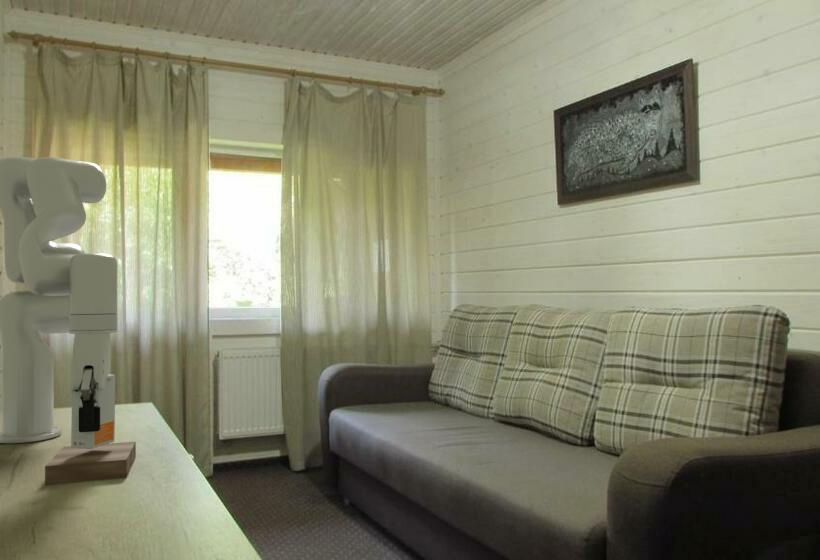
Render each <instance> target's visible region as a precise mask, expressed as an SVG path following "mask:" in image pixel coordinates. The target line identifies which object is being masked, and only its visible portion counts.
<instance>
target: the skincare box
mask: <svg viewBox="0 0 820 560" xmlns="http://www.w3.org/2000/svg"><path fill="white" fill-rule="evenodd" d="M93 377H94V374H93ZM96 384H97V383H96ZM80 386H81V384H80ZM80 386H79V387H80ZM91 389H96V386H95V385H94V379H92V384H91ZM77 390H78V391H77ZM76 391H77V392H73V391H72V390H71V434H70V435H71V438H70V439H71V440H70V441H71V442H70V443H71V444H70V446H71V448H80V449H93V448H95V447H98V446H102V445H105V444H108V443H115V436H116V435H115V429H116V427H115V426H116V425H115V424H116V422H115V420H116V374H111V373H110V374H109V375H108V378H107V383H106V387H105V388H104V389H103V390H101V391H99V403H98V407H100V430H99V431H95V432H79V402H80V391H81V388H79V389H76ZM93 395H94V397H95V394H93Z"/></svg>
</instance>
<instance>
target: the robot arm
mask: <svg viewBox="0 0 820 560" xmlns="http://www.w3.org/2000/svg"><path fill="white" fill-rule="evenodd" d="M105 176H106V175H105V173H104V171H103V169H101V167H100V166H99V165H97V164H96V163H93V162H90V161H84V160H83V161H82V160H76V159H68V158H63V157H62V158H61V157H51V156H45V157H38V158H34V157H33V158H32V157H26V156H25V157H23V156H8V157H3V158H1V159H0V213H1V216H2V219H3V220H2V221H3V226H4V227H3V235H4V237H3V240H4V243H3V246H4V266H5V267H4V269H5V273H6V277H7V279H8V280H9V281H10V282H12V283H14V284H18V285H19V284H20V285H25V286H26V288H27V289H28V290H16V291H12V292H9V293H6V294H5V295H3V296H2V297H1V298H0V337H1V349H2V350H1V356H2V357H1V358H2V359H1V360H2V361H1V363H2V365H1V366H2V367H1V368H2V384H1V385H2V386H1V387H2V388H1V389H2V391H1V393H2V394H1V395H2V396H1V397H2V399H1V400H2V401H1V406H2V409H1V412H2V414H1V415H2V416H1V421H2V422H1V424H2V425H1V431H0V444H21V443H31V442H33V443H34V442H39V441H44V440H49V439H53V438H56V437H58V436H61V434H62V433H63V431H62V427H60V426H54V425H55V424H54V420H55V419H54V416H55V415H54V414H55V413H54V408H55V407H54V404H55V403H54V402H55V401H54V400H55V399H54V394H55V393H54V392H55V391H54V390H55V388H54V386H55V385H54V383H55V382H54V381H55V380H54V379H55V377H54V375H55V371H54V369H55V368H54V367H55V364H54V361H55V360H54V353H53V350H52V349H51V347H50V346H49V345H48V343H46V341H45V340H43V339H42V337H41V336H42V335H48V334H49V335H52V334H71V335H74V338H73V344H72V346H73V348H72V361H71V363H72V364H71V379H70V382H71V383H70V390H71V392H72V391H73V392H77V391H78V390H77V391H76V389H79V388H81V391H80V402H79V432H95V431H99V430H100V407H98V403H99V391H101V390H103V389H104V388H105V387H106V383H107V378H108V375H109V374H111V366H112V365H111V363H112V361H111V359H112V358H111V357H112V355H111V352H112V351H111V348H112V347H111V343H112V342H111V334H112V333H113V334H114V333H118V260H117V258H116V257H115V256H114V255H112V254H108V253H96V252H95V253H87V252H85V251H84V249H83V248H82V247H81V246H80V245H78V244H76V243H71V242H56V240H59V239H62V238H65V237H67V236H70V235H72V234H75V233H77V232H78V231H79V230H81V228H82V227H83V226H84V225H85V223H86V221H87V212H86V210H85V209H86V208H85V207H84V204H83V203H85V204H97V203H99V202H101V201H102V200H103V199H104V197H105V195H106V192H107V180H106V177H105ZM54 241H55V242H54ZM93 374H94V377H93ZM92 379H94V385H95V386H96V389H91V384H92ZM96 383H97V384H96ZM80 384H81V386H80ZM79 386H80V387H79ZM93 394H95V397H94V395H93Z"/></svg>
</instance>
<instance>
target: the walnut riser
mask: <svg viewBox="0 0 820 560" xmlns="http://www.w3.org/2000/svg"><path fill="white" fill-rule="evenodd" d="M136 442H137V441H136V440H134V441H123V442H122V441H121V442H112V443H108V444H105V445H102V446H98V447H95V448H93V449H80V448H71V445H70V446H69V445H68V446H63V447H62V448H61V449H60V450H59V451H58V452H57V453H56V454H55V455H54V456H53V457H52V459H51V460H50V461H48V463H47V464H46V465H45V466H44V486H51V485H52V486H53V485H64V484H72V483H73V484H74V483H85V482H95V481H96V482H97V481H106V480H117V479H127V478H128V476H129V473H130V472H131V469H132V466H133V464H134V463H135V461H136V456H137V454H136V452H137V451H136V448H137V447H136V445H137V444H136Z"/></svg>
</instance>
